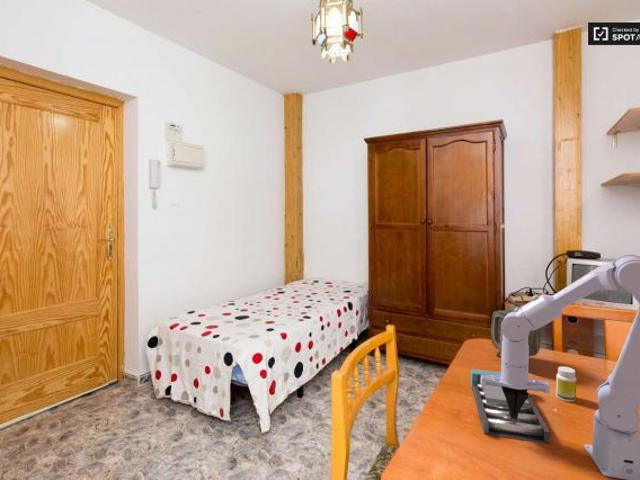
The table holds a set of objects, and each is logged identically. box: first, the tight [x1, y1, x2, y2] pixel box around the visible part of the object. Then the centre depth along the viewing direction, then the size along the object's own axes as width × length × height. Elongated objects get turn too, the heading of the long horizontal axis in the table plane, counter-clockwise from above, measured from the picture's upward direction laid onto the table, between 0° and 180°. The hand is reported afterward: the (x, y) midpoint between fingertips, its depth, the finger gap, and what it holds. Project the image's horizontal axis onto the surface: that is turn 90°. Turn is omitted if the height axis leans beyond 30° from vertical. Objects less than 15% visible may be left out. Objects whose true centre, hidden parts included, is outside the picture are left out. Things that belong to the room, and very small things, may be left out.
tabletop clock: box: [490, 291, 542, 357], centre depth 124 cm, size 14×9×25 cm, turn 10°
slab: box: [480, 377, 529, 409], centre depth 97 cm, size 12×10×1 cm
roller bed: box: [471, 381, 551, 444], centre depth 93 cm, size 22×14×3 cm, turn 163°
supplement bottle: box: [555, 366, 577, 402], centre depth 100 cm, size 5×5×8 cm
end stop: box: [470, 368, 501, 389], centre depth 105 cm, size 4×14×5 cm, turn 73°
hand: (513, 416), depth 86 cm, fingers closed
